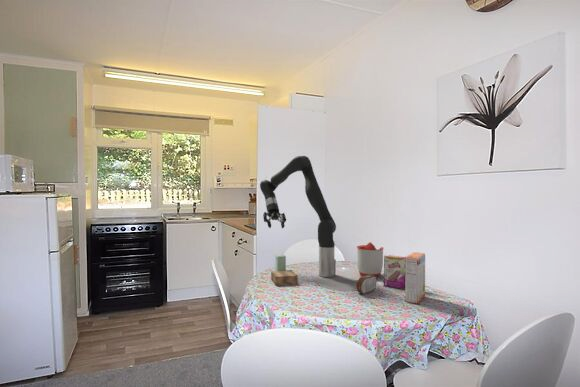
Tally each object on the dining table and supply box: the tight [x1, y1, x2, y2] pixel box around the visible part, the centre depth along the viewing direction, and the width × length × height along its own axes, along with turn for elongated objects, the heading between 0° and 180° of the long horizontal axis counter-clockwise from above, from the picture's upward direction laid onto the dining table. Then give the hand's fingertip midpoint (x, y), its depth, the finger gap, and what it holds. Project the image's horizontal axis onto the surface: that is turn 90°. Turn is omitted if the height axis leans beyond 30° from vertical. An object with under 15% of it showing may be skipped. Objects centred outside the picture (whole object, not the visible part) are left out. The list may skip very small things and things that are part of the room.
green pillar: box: [274, 254, 287, 271], centre depth 197 cm, size 5×5×12 cm
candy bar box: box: [383, 254, 408, 289], centre depth 178 cm, size 11×5×16 cm, turn 65°
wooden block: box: [270, 269, 298, 286], centre depth 185 cm, size 12×12×5 cm
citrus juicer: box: [356, 241, 384, 278], centre depth 200 cm, size 16×17×20 cm
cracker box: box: [404, 252, 426, 304], centre depth 158 cm, size 14×6×21 cm, turn 144°
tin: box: [356, 274, 378, 295], centre depth 168 cm, size 15×3×8 cm, turn 134°
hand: (276, 227), depth 206 cm, fingers open, 8 cm apart
